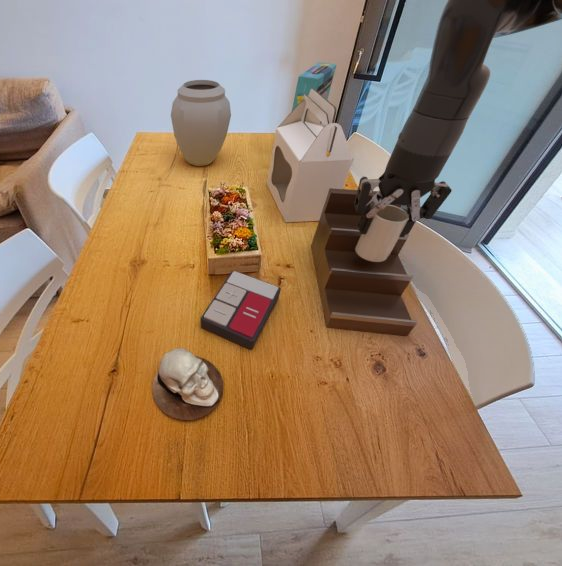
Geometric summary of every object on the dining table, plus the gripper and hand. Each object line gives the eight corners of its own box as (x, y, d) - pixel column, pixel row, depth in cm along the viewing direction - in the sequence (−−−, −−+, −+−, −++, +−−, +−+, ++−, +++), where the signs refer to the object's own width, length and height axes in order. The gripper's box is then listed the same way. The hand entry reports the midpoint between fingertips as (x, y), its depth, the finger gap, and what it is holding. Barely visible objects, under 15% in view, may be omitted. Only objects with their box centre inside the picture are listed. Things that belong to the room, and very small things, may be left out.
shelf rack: (407, 336, 63) (454, 275, 52) (326, 327, 65) (354, 267, 54) (373, 251, 82) (402, 192, 70) (310, 246, 83) (329, 188, 72)
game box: (298, 169, 113) (319, 78, 94) (280, 164, 116) (298, 75, 97) (315, 147, 126) (337, 63, 107) (299, 144, 128) (318, 61, 109)
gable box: (266, 183, 106) (283, 85, 87) (306, 182, 107) (332, 83, 87) (285, 223, 90) (311, 114, 71) (332, 221, 91) (371, 111, 71)
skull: (241, 375, 57) (221, 382, 47) (210, 425, 58) (185, 441, 48) (188, 336, 62) (161, 336, 53) (161, 382, 63) (130, 389, 54)
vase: (226, 150, 125) (231, 76, 108) (228, 174, 111) (235, 94, 94) (174, 150, 126) (171, 76, 108) (170, 174, 112) (166, 94, 95)
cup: (393, 252, 65) (415, 213, 59) (378, 266, 62) (399, 226, 56) (364, 239, 68) (382, 200, 62) (349, 251, 66) (366, 212, 59)
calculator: (199, 316, 63) (232, 267, 71) (199, 329, 66) (231, 280, 74) (254, 339, 59) (282, 284, 67) (251, 352, 62) (278, 298, 70)
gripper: (381, 151, 49) (344, 242, 60) (488, 156, 47) (429, 249, 59) (369, 132, 54) (337, 219, 66) (465, 136, 52) (414, 224, 64)
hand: (380, 233), depth 62 cm, fingers closed on cup, 6 cm apart
